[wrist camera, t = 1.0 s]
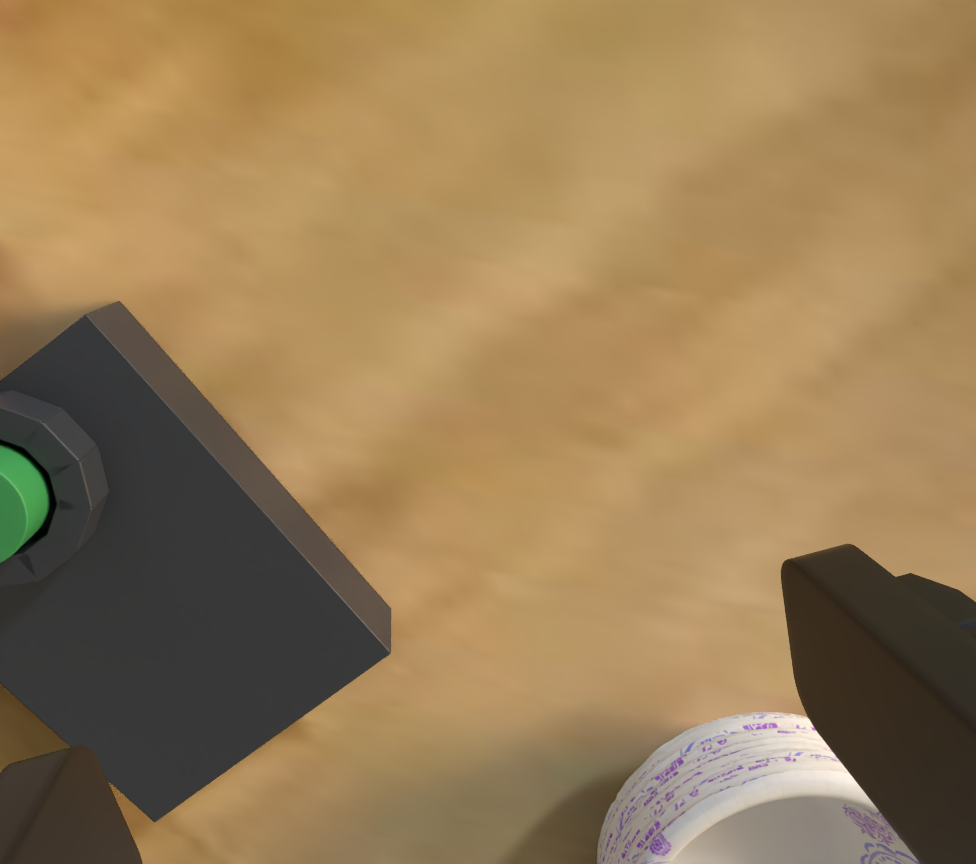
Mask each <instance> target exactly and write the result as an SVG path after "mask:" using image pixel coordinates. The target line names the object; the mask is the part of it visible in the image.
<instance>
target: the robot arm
mask: <svg viewBox="0 0 976 864" xmlns="http://www.w3.org/2000/svg"><path fill="white" fill-rule="evenodd" d="M781 582H782V590H783V598H784V605H785V613H786V620H787V628H788V635H789V643H790V650H791V658H792V665H793V673H794V679H795V683H796V687H797V690H798V694H799V697H800V699H801V702H802V705H803V707H804V709H805V711H806V714H807V716H808V718H809V719H810V721H811V723H812V725H813V726H814V728H815V730H816V731H817V732H818V734H819V735H820V736H821V738H822V739H823V740H824V741H825V743H826V744H827V745H828V746H829V748H830V749H831V750H832V752H833V753H834V754H835V755H836V757H837V758H838V759H839V761H840V762H841V763H842V764H843V766H844V767H845V768H846V769H847V771H848V772H849V773H850V775H851V776H852V777H853V778H854V780H855V781H856V782H857V783H858V785H859V786H860V787H861V789H862V790H863V791H864V792H865V794H866V795H867V796H868V798H869V799H870V800H871V801H872V803H873V804H874V805H875V806H876V808H877V809H878V810H879V812H880V813H881V814H882V815H883V817H884V818H885V819H886V821H887V822H888V823H889V824H890V826H891V827H892V828H893V829H894V831H895V832H896V833H897V835H898V836H899V837H900V838H901V840H902V841H903V842H904V843H905V845H906V846H907V847H908V849H909V850H910V851H911V852H912V854H913V855H914V856H915V858H916V859H917V860H918V861H919V863H920V864H976V602H975V601H973V600H972V599H970V598H969V597H968V596H966V595H965V594H963V593H962V592H961V591H959V590H957V589H954V588H951V587H949V586H946V585H943V584H940V583H937V582H934V581H932V580H929V579H926V578H923V577H920V576H917V575H914V574H912V573H909V574H906V575H902V576H898V577H895V576H893V575H892V574H891V573H890V572H888V571H887V570H886V569H884V568H883V567H882V566H881V565H879V564H878V563H877V562H875V561H874V560H873V559H872V558H870V557H869V556H868V555H866V554H865V553H864V552H863V551H861V550H860V549H859V548H857V547H856V546H854V545H852V544H844V545H841V546H837V547H833V548H829V549H825V550H822V551H818V552H814V553H810V554H807V555H803V556H799V557H795V558H791V559H788V560H786V561H784V563H783V565H782V569H781ZM0 864H142V860H141V856H140V853H139V851H138V848H137V846H136V844H135V841H134V839H133V837H132V835H131V832H130V830H129V828H128V826H127V823H126V821H125V819H124V817H123V815H122V812H121V810H120V808H119V806H118V803H117V801H116V799H115V797H114V794H113V792H112V790H111V788H110V785H109V783H108V781H107V779H106V777H105V774H104V772H103V770H102V768H101V765H100V763H99V761H98V759H97V757H96V756H95V755H94V753H93V752H92V751H91V750H90V749H89V748H87V747H85V746H75V747H71V748H68V749H64V750H60V751H56V752H52V753H49V754H45V755H41V756H37V757H34V758H30V759H26V760H22V761H18V762H15V763H12V764H10V765H8V766H7V767H6V768H4V770H3V771H2V772H1V773H0Z"/></svg>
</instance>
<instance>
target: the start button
mask: <svg viewBox="0 0 976 864" xmlns="http://www.w3.org/2000/svg"><path fill="white" fill-rule="evenodd" d="M49 507H50V493H49V488H48V485H47V482H46V480H45V478H44V476H43V474H42V472H41V471H40V469H39V468H38V467H37V466H36V465H35V463H34V462H33V461H31V460H30V459H29V458H28V457H27V456H25V455H24V454H23V453H21V452H19V451H17V450H16V449H13V448H11V447H8V446H5V445H2V444H0V563H1V562H3V561H5V560H6V559H8V558H9V557H11V556H12V555H13V554H14V553H15V552H16V551H17V550H18V549H19V548H20V547H21V546H22V545H23V544H24V543H26V542H27V541H28V540H29V539H30V538H31V537H32V536H33V535H34V534H35V533H36V532H37V531H38V530H39V529H40V527H41V526H42V525H43V523H44V522H45V520H46V517H47V515H48V512H49Z"/></svg>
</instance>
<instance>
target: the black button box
mask: <svg viewBox="0 0 976 864" xmlns="http://www.w3.org/2000/svg"><path fill="white" fill-rule="evenodd" d="M0 444H2V445H5V446H8V447H11V448H13V449H16V450H17V451H19V452H21V453H23V454H24V455H25V456H27V457H28V458H29V459H30V460H31V461H33V462H34V463H35V465H36V466H37V467H38V468H39V469H40V471H41V472H42V474H43V476H44V478H45V480H46V482H47V485H48V488H49V493H50V507H49V512H48V515H47V517H46V520H45V522H44V523H43V525H42V526H41V527H40V529H39V530H38V531H37V532H36V533H35V534H34V535H33V536H32V537H31V538H30V539H29V540H28V541H27V542H26V543H24V544H23V545H22V546H21V547H20V548H19V549H18V550H17V551H16V552H15V553H14V554H13V555H12V556H11V557H9V558H8V559H6V560H5V561H3V562H1V563H0V684H2V685H3V686H4V687H5V688H6V689H7V690H8V691H9V692H10V693H12V694H13V695H14V696H15V697H16V698H17V699H18V700H19V701H20V702H22V703H23V704H24V705H25V706H26V707H27V708H28V709H29V710H30V711H32V712H33V713H34V714H35V715H36V716H37V717H38V718H39V719H40V720H41V721H43V722H44V723H45V724H46V725H47V726H48V727H49V728H50V729H51V730H53V731H54V732H55V733H56V734H57V735H58V736H59V737H60V738H61V739H63V740H64V741H65V742H66V743H67V744H68V745H69V746H70V747H75V746H85V747H87V748H89V749H90V750H91V751H92V752H93V753H94V755H95V756H96V757H97V759H98V761H99V763H100V765H101V768H102V770H103V772H104V774H105V777H106V779H107V780H108V781H109V782H110V783H111V784H113V785H114V786H115V787H116V788H117V789H118V790H119V791H120V792H121V793H123V794H124V795H125V796H126V797H127V798H128V799H129V800H130V801H131V802H133V803H134V804H135V805H136V806H137V807H138V808H139V809H140V810H141V811H142V812H144V813H145V814H146V815H147V816H148V817H149V818H150V819H151V820H152V821H154V822H156V821H157V820H159V819H160V818H161V817H163V816H164V815H166V814H167V813H168V812H170V811H171V810H173V809H174V808H175V807H177V806H178V805H180V804H181V803H182V802H184V801H185V800H187V799H188V798H189V797H191V796H192V795H194V794H195V793H196V792H198V791H199V790H201V789H202V788H203V787H205V786H206V785H208V784H209V783H210V782H212V781H213V780H215V779H216V778H217V777H219V776H220V775H222V774H223V773H224V772H226V771H227V770H228V769H230V768H231V767H233V766H234V765H235V764H237V763H238V762H240V761H241V760H242V759H244V758H245V757H247V756H248V755H249V754H251V753H252V752H254V751H255V750H256V749H258V748H259V747H261V746H262V745H263V744H265V743H266V742H268V741H269V740H270V739H272V738H273V737H275V736H276V735H277V734H279V733H280V732H282V731H283V730H284V729H286V728H287V727H289V726H290V725H291V724H293V723H294V722H296V721H297V720H298V719H300V718H301V717H303V716H304V715H305V714H307V713H308V712H309V711H311V710H312V709H314V708H315V707H316V706H318V705H319V704H321V703H322V702H323V701H325V700H326V699H328V698H329V697H330V696H332V695H333V694H335V693H336V692H337V691H339V690H340V689H342V688H343V687H344V686H346V685H347V684H349V683H350V682H351V681H353V680H354V679H356V678H357V677H358V676H360V675H361V674H363V673H364V672H365V671H367V670H368V669H370V668H371V667H372V666H374V665H375V664H377V663H378V662H379V661H381V660H382V659H384V658H385V657H386V656H388V655H389V654H390V653H391V608H390V607H389V606H388V605H387V604H386V602H385V601H384V600H383V599H382V598H381V597H380V596H379V594H378V593H377V592H376V591H375V590H374V589H373V588H372V586H371V585H370V584H369V583H368V582H367V581H366V580H365V579H364V577H363V576H362V575H361V574H360V573H359V572H358V571H357V569H356V568H355V567H354V566H353V565H352V564H351V563H350V562H349V560H348V559H347V558H346V557H345V556H344V555H343V554H342V552H341V551H340V550H339V549H338V548H337V547H336V546H335V545H334V543H333V542H332V541H331V540H330V539H329V538H328V537H327V535H326V534H325V533H324V532H323V531H322V530H321V529H320V527H319V526H318V525H317V524H316V523H315V522H314V521H313V520H312V518H311V517H310V516H309V515H308V514H307V513H306V512H305V510H304V509H303V508H302V507H301V506H300V505H299V504H298V503H297V501H296V500H295V499H294V498H293V497H292V496H291V495H290V493H289V492H288V491H287V490H286V489H285V488H284V487H283V485H282V484H281V483H280V482H279V481H278V480H277V479H276V478H275V476H274V475H273V474H272V473H271V472H270V471H269V470H268V468H267V467H266V466H265V465H264V464H263V463H262V462H261V461H260V459H259V458H258V457H257V456H256V455H255V454H254V453H253V451H252V450H251V449H250V448H249V447H248V446H247V445H246V443H245V442H244V441H243V440H242V439H241V438H240V437H239V436H238V434H237V433H236V432H235V431H234V430H233V429H232V428H231V426H230V425H229V424H228V423H227V422H226V421H225V420H224V419H223V417H222V416H221V415H220V414H219V413H218V412H217V411H216V409H215V408H214V407H213V406H212V405H211V404H210V403H209V402H208V400H207V399H206V398H205V397H204V396H203V395H202V394H201V392H200V391H199V390H198V389H197V388H196V387H195V386H194V384H193V383H192V382H191V381H190V380H189V379H188V378H187V377H186V375H185V374H184V373H183V372H182V371H181V370H180V369H179V367H178V366H177V365H176V364H175V363H174V362H173V361H172V360H171V358H170V357H169V356H168V355H167V354H166V353H165V352H164V350H163V349H162V348H161V347H160V346H159V345H158V344H157V342H156V341H155V340H154V339H153V338H152V337H151V336H150V335H149V333H148V332H147V331H146V330H145V329H144V328H143V327H142V325H141V324H140V323H139V322H138V321H137V320H136V319H135V318H134V316H133V315H132V314H131V313H130V312H129V311H128V310H127V308H126V307H125V306H124V305H123V304H122V303H121V302H120V301H118V302H115V303H113V304H111V305H108V306H106V307H103V308H101V309H98V310H96V311H93V312H91V313H88V314H86V315H84V316H83V317H82V318H80V319H79V320H78V321H77V322H75V323H74V324H73V325H71V326H70V327H69V328H68V329H66V330H65V331H64V332H62V333H61V334H60V335H59V336H57V337H56V338H55V339H54V340H52V341H51V342H50V343H48V344H47V345H46V346H45V347H43V348H42V349H41V350H39V351H38V352H37V353H36V354H34V355H33V356H32V357H31V358H29V359H28V360H27V361H25V362H24V363H23V364H22V365H20V366H19V367H18V368H16V369H15V370H14V371H13V372H11V373H10V374H9V375H7V376H6V377H5V378H4V379H2V380H1V381H0Z"/></svg>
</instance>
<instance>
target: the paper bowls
mask: <svg viewBox="0 0 976 864" xmlns="http://www.w3.org/2000/svg"><path fill="white" fill-rule="evenodd" d="M616 797H617V798H616V799H615V801H614V802H613V803H612V804H611V806H610V808H609V810H608V813H607V815H606V817H605V821H604V824H603V826H602V829H601V833H600V837H599V842H598V847H597V864H920V863H919V861H918V860H917V859H916V858H915V856H914V855H913V854H912V852H911V851H910V850H909V849H908V847H907V846H906V845H905V843H904V842H903V841H902V840H901V838H900V837H899V836H898V835H897V833H896V832H895V831H894V829H893V828H892V827H891V826H890V824H889V823H888V822H887V821H886V819H885V818H884V817H883V815H882V814H881V813H880V812H879V810H878V809H877V808H876V806H875V805H874V804H873V803H872V801H871V800H870V799H869V798H868V796H867V795H866V794H865V792H864V791H863V790H862V789H861V787H860V786H859V785H858V783H857V782H856V781H855V780H854V778H853V777H852V776H851V775H850V773H849V772H848V771H847V769H846V768H845V767H844V766H843V764H842V763H841V762H840V761H839V759H838V758H837V757H836V755H835V754H834V753H833V752H832V750H831V749H830V748H829V746H828V745H827V744H826V743H825V741H824V740H823V739H822V738H821V736H820V735H819V734H818V732H817V731H816V730H815V728H814V726H813V725H812V723H811V721H810V719H809V718H807V717H804V716H800V715H795V714H788V713H775V712H756V713H749V714H739V715H734V716H728V717H723V718H719V719H715V720H713V721H710V722H708V723H705V724H701V725H698V726H696V727H694V728H692V729H688V730H686V731H684V732H683V733H681V734H680V735H678V736H676V737H675V738H674V739H672V740H671V741H669V742H667V743H665V744H663V745H662V746H661V747H659V748H658V749H657V750H656V751H654V753H653V754H652V755H651V756H649V757H648V759H647V760H646V761H645V762H644V763H643V764H642V765H641V766H640V767H639V768H638V769H637V770H636V771H635V772H634V773H633V774H632V775H631V776H630V777H629V778H628V780H627V781H626V782H625V783H624V785H623V787H622V789H621V790H620V791H619V793H618V794H617V796H616Z"/></svg>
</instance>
